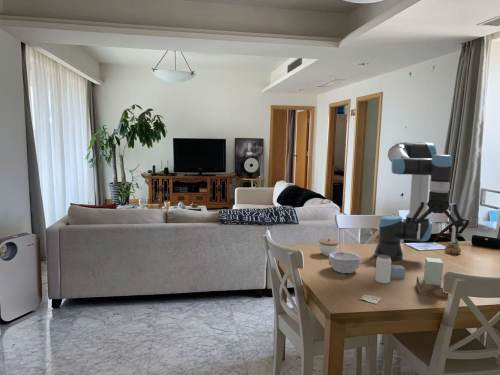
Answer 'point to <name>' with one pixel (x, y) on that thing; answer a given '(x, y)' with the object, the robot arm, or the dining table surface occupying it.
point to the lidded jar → (328, 246)
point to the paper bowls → (344, 261)
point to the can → (383, 269)
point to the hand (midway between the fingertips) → (435, 240)
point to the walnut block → (430, 288)
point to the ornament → (453, 247)
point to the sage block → (433, 271)
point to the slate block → (397, 271)
